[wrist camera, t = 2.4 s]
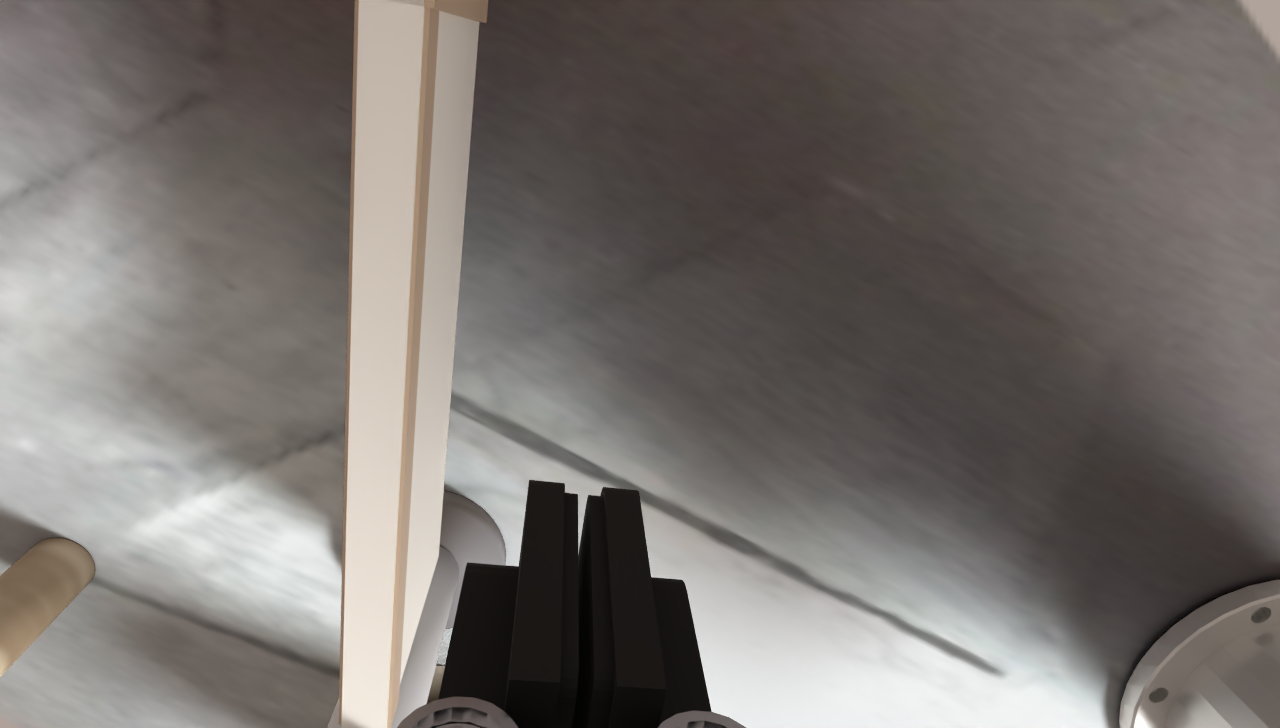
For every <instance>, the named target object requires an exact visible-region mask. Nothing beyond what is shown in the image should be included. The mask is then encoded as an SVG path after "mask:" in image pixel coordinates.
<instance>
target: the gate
mask: <svg viewBox="0 0 1280 728" xmlns="http://www.w3.org/2000/svg"><path fill="white" fill-rule="evenodd" d="M487 10H488V0H355V14H354V59H353V104H352V149H351V194H350V239H349V283H348V328H347V373H346V418H345V463H344V508H343V553H342V598H341V643H340V688H339V698H338V701H337V703H336V706H335V708H334V711H333V714H332V716H331V719H330V721H329V724H328V726H327V728H397V727H398V725H399V724H400V723H401V721H402V720H403V719H405V718H406V717H407V716H408V715H409V714H411V713H412V712H413V711H414V710H416V709H417V708H419V707H421V706H423V705H426V704H427V700H428V696H429V692H430V688H431V684H432V680H433V676H434V672H435V668H436V664H437V660H438V656H439V652H440V648H441V644H442V640H443V636H444V632H445V628H446V624H447V620H448V616H449V612H450V608H451V604H452V600H453V596H454V592H455V588H456V584H457V580H458V576H459V568H458V564H457V562H456V560H455V558H454V557H453V555H452V554H451V553H450V552H449V551H447V550H446V549H444V548H443V547H441V546H440V533H441V520H442V507H443V494H444V480H445V467H446V454H447V441H448V428H449V415H450V402H451V389H452V375H453V362H454V349H455V336H456V323H457V310H458V297H459V284H460V270H461V257H462V244H463V231H464V218H465V205H466V192H467V179H468V165H469V152H470V139H471V126H472V113H473V100H474V87H475V74H476V60H477V47H478V34H479V22H483V23H487Z"/></svg>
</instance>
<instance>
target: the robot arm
mask: <svg viewBox="0 0 1280 728" xmlns="http://www.w3.org/2000/svg"><path fill="white" fill-rule="evenodd" d="M1119 725H1120V728H1280V580H1274V581H1269V582H1265V583H1260V584H1255V585H1251V586H1247V587H1244V588H1242V589H1239V590H1236V591H1234V592H1231V593H1228V594H1225V595H1223V596H1221V597H1219V598H1217V599H1215V600H1213V601H1211V602H1209V603H1207V604H1205V605H1203V606H1201V607H1199V608H1198V609H1196V610H1194V611H1193V612H1192V613H1190V614H1189V615H1187V616H1186V617H1184V618H1183V619H1182V620H1180V621H1179V622H1177V623H1176V624H1175V625H1173V626H1172V627H1171V628H1170V629H1169V630H1168V631H1167V632H1166V633H1165V634H1164V635H1162V636H1161V637H1160V638H1159V639H1158V640H1157V641H1156V642H1155V643H1154V644H1153V645H1152V647H1151V648H1150V649H1149V650H1148V652H1147V653H1146V654H1145V655H1144V657H1143V658H1142V659H1141V660H1140V662H1139V663H1138V665H1137V666H1136V668H1135V670H1134V672H1133V674H1132V675H1131V677H1130V679H1129V681H1128V683H1127V686H1126V689H1125V692H1124V695H1123V698H1122V701H1121V705H1120V718H1119ZM397 728H746V727H744V726H743V725H741V724H739V723H738V722H736V721H734V720H732V719H731V718H729V717H726V716H723V715H720V714H716V713H713V712H711V708H710V703H709V698H708V693H707V688H706V683H705V678H704V673H703V668H702V663H701V658H700V653H699V649H698V644H697V639H696V634H695V629H694V624H693V619H692V614H691V609H690V604H689V599H688V594H687V590H686V586H685V583H684V582H683V581H682V580H676V579H664V578H652V577H651V574H650V567H649V559H648V552H647V545H646V538H645V531H644V524H643V517H642V510H641V503H640V496H639V491H637V490H627V489H617V488H607V487H603V489H602V492H601V496H591V495H588V498H587V504H586V510H585V516H584V523H583V529H582V536H581V542H580V548H579V555H578V495H577V494H570V493H565V484H564V483H555V482H544V481H534V480H529V487H528V495H527V503H526V512H525V520H524V528H523V536H522V545H521V553H520V561H519V567H517V566H505V565H493V564H481V563H468V562H467V565H466V568H465V573H464V578H463V582H462V587H461V592H460V597H459V602H458V606H457V611H456V616H455V621H454V626H453V630H452V635H451V640H450V645H449V650H448V654H447V659H446V664H445V669H444V674H443V678H442V683H441V688H440V693H439V698H438V700H434V701H432V702H430V703H428V704H426V705H423V706H421V707H419V708H417V709H416V710H414V711H413V712H412V713H411V714H409V715H408V716H407V717H406V718H405V719H403V720H402V721H401V723H400V724H399V725H398V727H397Z"/></svg>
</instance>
